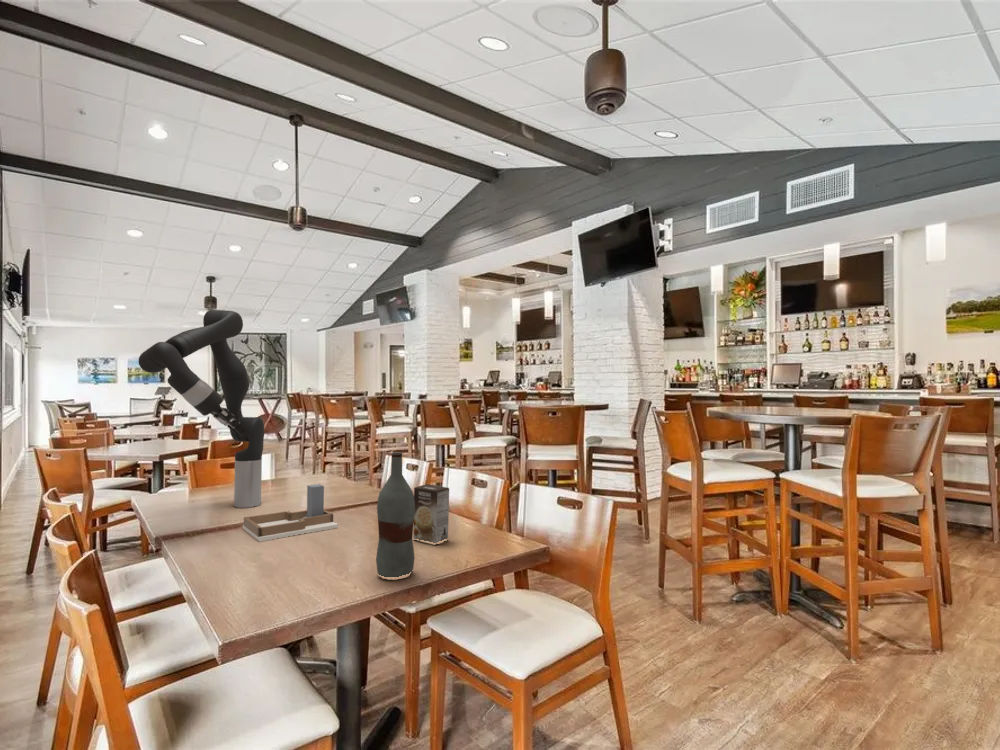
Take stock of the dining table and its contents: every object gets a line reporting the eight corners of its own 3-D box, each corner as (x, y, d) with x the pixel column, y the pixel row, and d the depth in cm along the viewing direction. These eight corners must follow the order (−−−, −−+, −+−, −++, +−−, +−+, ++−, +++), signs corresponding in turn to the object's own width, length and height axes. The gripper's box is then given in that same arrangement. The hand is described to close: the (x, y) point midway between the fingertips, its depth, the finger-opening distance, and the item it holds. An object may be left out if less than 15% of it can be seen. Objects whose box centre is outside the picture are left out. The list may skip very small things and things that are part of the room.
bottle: (379, 584, 125) (381, 456, 125) (372, 571, 133) (374, 451, 133) (418, 578, 128) (420, 454, 129) (409, 566, 137) (411, 449, 137)
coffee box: (411, 540, 158) (412, 487, 159) (425, 535, 164) (426, 483, 164) (435, 546, 153) (436, 490, 154) (449, 540, 159) (450, 487, 159)
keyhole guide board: (242, 528, 169) (242, 516, 169) (316, 516, 185) (316, 506, 185) (259, 541, 156) (259, 529, 156) (337, 527, 171) (338, 516, 171)
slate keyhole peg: (302, 520, 176) (303, 485, 176) (320, 517, 180) (320, 483, 180) (309, 523, 171) (310, 488, 171) (327, 520, 175) (328, 486, 175)
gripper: (217, 388, 158) (257, 425, 166) (206, 387, 169) (244, 422, 176) (197, 406, 155) (239, 443, 162) (187, 404, 166) (227, 439, 173)
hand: (242, 432), depth 169 cm, fingers open, 8 cm apart
